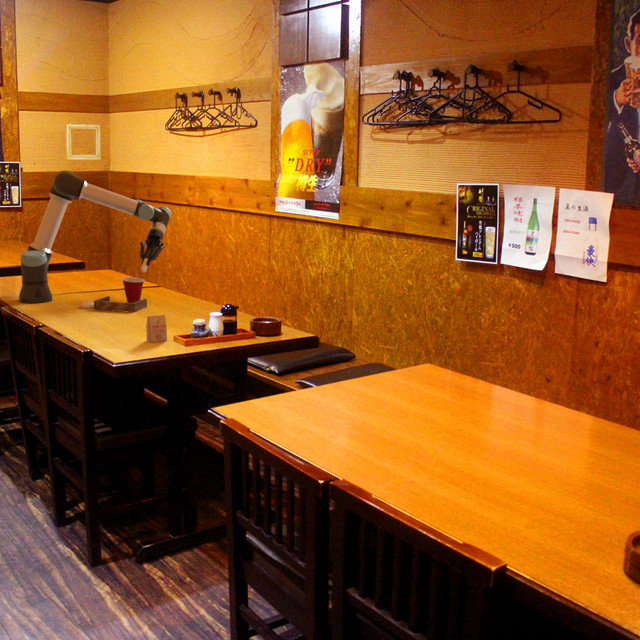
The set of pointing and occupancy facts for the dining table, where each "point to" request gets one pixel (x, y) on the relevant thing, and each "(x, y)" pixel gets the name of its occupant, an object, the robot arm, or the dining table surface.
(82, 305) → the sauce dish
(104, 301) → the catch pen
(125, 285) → the plastic cup
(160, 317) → the printed paper bag
